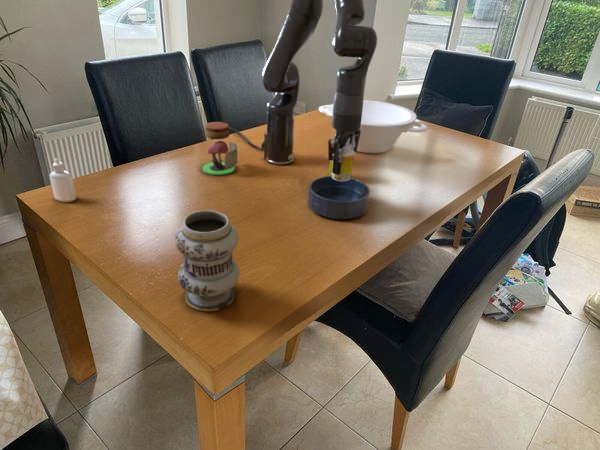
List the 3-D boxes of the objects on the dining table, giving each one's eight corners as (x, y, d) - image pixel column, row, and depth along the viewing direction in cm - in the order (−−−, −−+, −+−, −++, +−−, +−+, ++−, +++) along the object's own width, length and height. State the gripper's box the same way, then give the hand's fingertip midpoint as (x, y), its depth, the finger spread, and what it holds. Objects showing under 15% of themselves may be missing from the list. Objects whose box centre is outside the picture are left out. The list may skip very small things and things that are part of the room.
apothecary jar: (205, 324, 85) (199, 244, 76) (168, 295, 92) (158, 219, 83) (252, 296, 93) (251, 220, 84) (214, 271, 100) (211, 199, 91)
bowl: (296, 208, 128) (297, 189, 125) (327, 188, 140) (328, 171, 137) (349, 228, 120) (351, 208, 117) (377, 205, 132) (380, 186, 129)
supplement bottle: (354, 180, 125) (358, 145, 120) (337, 183, 123) (340, 148, 117) (344, 173, 129) (347, 139, 124) (327, 175, 127) (330, 141, 122)
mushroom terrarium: (201, 178, 142) (198, 132, 135) (200, 163, 153) (198, 119, 146) (239, 176, 145) (238, 131, 137) (235, 162, 156) (234, 119, 148)
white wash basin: (434, 146, 180) (440, 113, 174) (405, 173, 155) (411, 135, 148) (337, 124, 199) (340, 93, 192) (297, 145, 173) (298, 110, 167)
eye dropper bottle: (62, 204, 123) (52, 164, 117) (53, 198, 126) (43, 157, 120) (78, 200, 126) (69, 159, 120) (69, 193, 129) (60, 154, 123)
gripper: (348, 101, 123) (342, 159, 132) (320, 112, 113) (316, 174, 121) (373, 107, 120) (365, 166, 128) (347, 118, 109) (340, 182, 118)
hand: (341, 170), depth 124 cm, fingers closed on supplement bottle, 5 cm apart
